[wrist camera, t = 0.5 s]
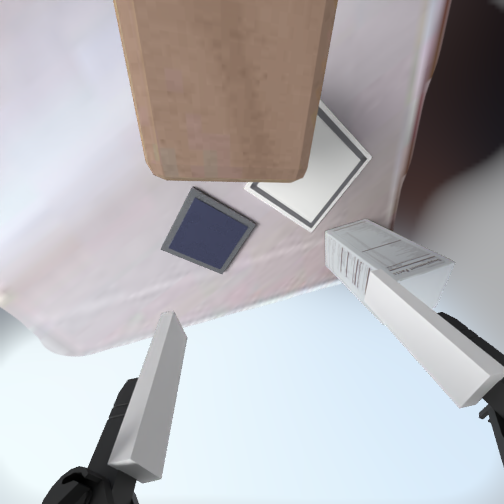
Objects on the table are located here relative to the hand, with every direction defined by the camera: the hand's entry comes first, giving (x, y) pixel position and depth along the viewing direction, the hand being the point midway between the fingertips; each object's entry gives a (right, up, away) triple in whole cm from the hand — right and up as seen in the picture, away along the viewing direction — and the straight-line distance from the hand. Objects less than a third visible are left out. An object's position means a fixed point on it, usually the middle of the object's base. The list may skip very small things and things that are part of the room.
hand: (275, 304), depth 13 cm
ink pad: (-9, +7, +21) cm, 24 cm away
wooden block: (-6, +22, +13) cm, 26 cm away
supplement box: (+18, +6, +28) cm, 34 cm away
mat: (+8, +17, +19) cm, 27 cm away
